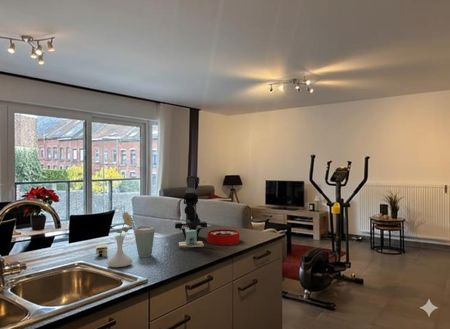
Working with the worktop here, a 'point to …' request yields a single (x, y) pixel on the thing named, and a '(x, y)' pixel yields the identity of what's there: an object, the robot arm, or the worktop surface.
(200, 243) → the cleat board
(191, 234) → the block
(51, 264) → the worktop surface
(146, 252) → the disposable coffee cup
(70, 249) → the worktop surface
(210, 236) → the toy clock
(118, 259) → the flower in vase
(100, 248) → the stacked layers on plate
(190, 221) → the robot arm
